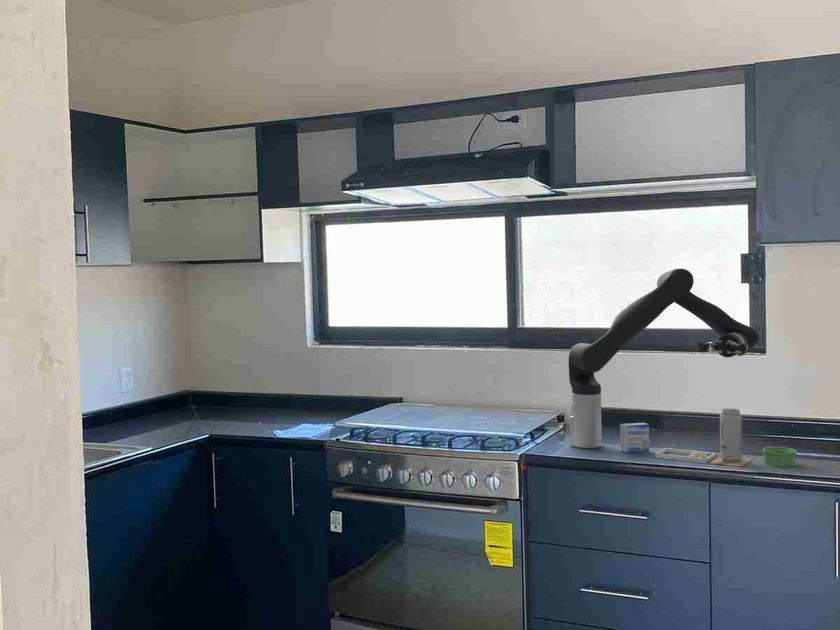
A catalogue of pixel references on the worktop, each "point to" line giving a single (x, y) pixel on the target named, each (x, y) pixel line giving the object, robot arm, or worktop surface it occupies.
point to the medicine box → (634, 437)
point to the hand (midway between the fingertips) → (716, 348)
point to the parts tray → (694, 457)
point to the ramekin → (779, 456)
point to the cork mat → (734, 464)
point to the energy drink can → (731, 435)
